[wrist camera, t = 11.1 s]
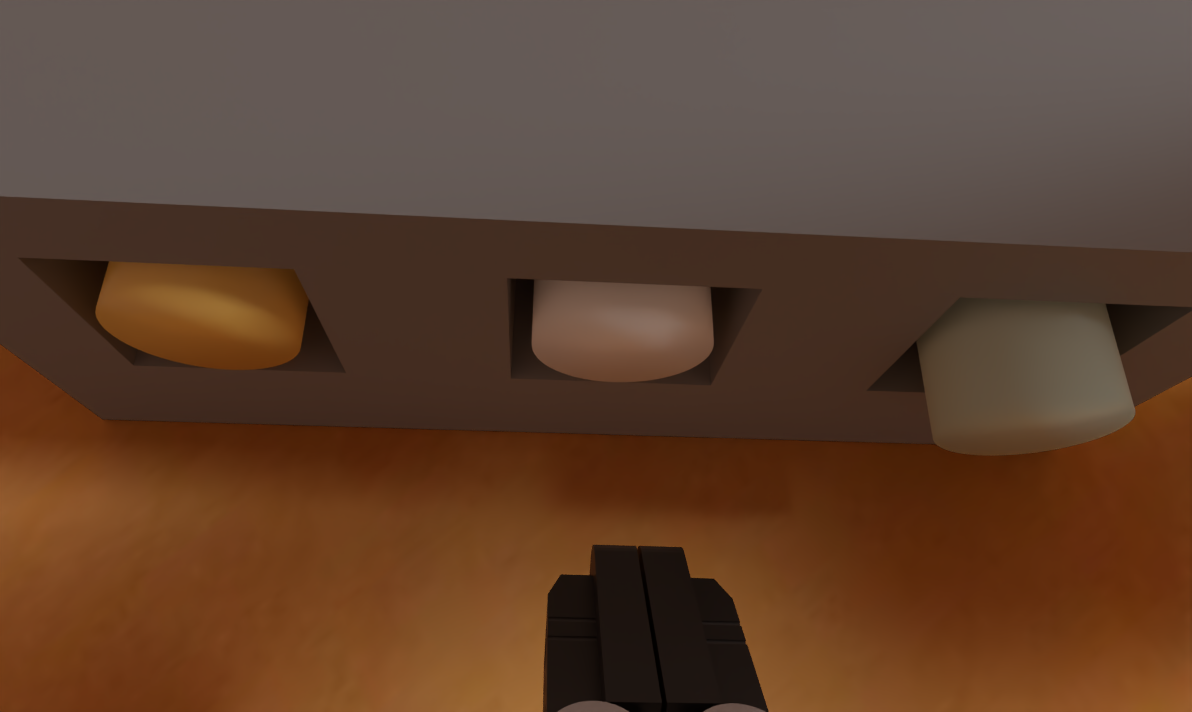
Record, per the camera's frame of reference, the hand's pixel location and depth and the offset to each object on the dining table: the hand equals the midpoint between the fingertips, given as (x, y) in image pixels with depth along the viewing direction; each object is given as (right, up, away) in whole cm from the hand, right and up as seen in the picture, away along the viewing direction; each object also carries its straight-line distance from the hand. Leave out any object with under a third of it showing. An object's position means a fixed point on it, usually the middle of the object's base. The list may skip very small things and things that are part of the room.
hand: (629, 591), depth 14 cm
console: (0, +4, +12) cm, 13 cm away
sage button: (+9, +4, +7) cm, 12 cm away
